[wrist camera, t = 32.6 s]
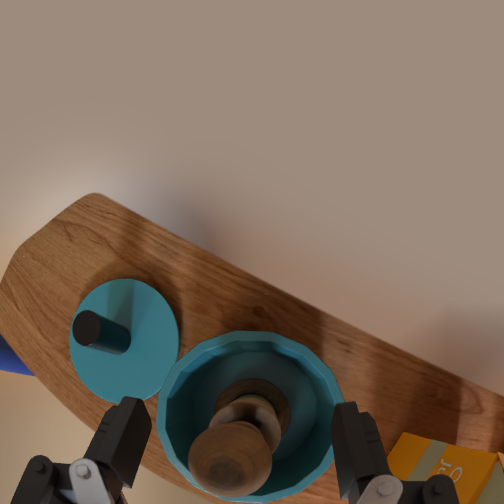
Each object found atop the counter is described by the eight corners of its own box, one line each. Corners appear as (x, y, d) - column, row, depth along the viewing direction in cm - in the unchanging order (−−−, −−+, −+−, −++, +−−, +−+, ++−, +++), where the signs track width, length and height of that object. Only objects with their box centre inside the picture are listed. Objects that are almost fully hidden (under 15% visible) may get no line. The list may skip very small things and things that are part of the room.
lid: (147, 427, 23) (112, 437, 17) (59, 358, 26) (18, 348, 20) (204, 315, 28) (185, 294, 22) (109, 263, 31) (77, 235, 25)
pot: (286, 485, 20) (293, 523, 12) (168, 432, 23) (130, 449, 15) (343, 374, 25) (373, 371, 17) (223, 324, 27) (206, 301, 20)
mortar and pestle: (304, 414, 23) (368, 473, 7) (250, 457, 21) (219, 566, 5) (256, 364, 25) (234, 337, 9) (203, 406, 24) (97, 440, 7)
